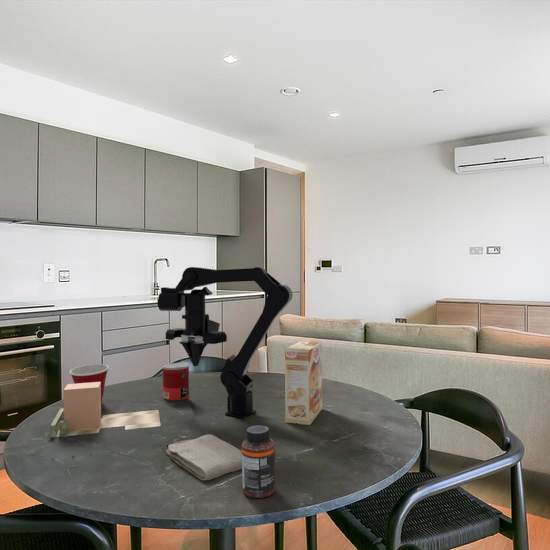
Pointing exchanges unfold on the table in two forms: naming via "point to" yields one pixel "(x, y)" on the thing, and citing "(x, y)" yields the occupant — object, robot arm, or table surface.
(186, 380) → the canned food
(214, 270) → the robot arm
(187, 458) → the washcloth
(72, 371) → the plastic cup
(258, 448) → the supplement bottle
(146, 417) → the trap board
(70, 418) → the block
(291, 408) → the coffeecake box
